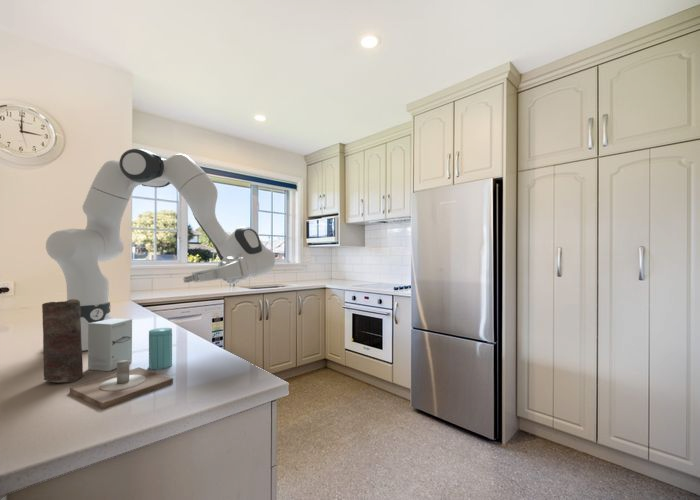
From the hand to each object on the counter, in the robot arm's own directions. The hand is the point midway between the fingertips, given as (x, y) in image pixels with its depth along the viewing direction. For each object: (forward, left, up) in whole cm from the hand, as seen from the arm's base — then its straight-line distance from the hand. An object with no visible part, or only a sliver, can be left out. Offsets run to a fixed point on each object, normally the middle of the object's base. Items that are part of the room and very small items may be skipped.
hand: (191, 279), depth 101 cm
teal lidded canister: (0, -9, -24) cm, 25 cm away
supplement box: (-12, -16, -24) cm, 31 cm away
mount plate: (+7, -22, -24) cm, 33 cm away
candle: (-11, -27, -24) cm, 38 cm away
